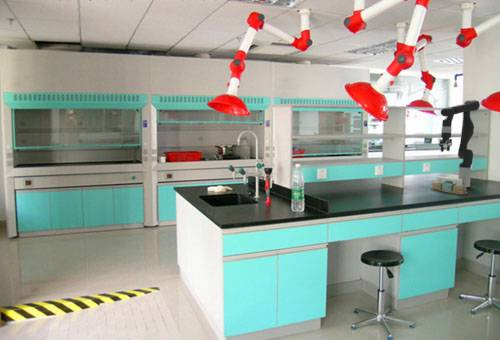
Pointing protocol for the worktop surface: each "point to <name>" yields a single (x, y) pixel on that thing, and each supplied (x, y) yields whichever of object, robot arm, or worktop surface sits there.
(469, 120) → the robot arm
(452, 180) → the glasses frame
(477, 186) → the worktop surface
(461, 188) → the display stand
